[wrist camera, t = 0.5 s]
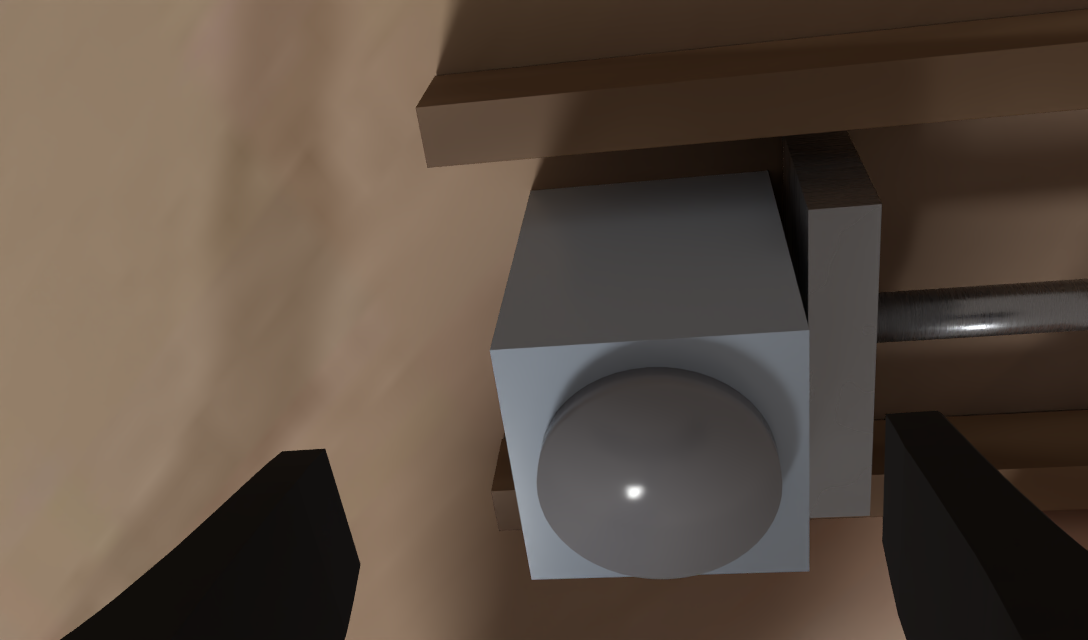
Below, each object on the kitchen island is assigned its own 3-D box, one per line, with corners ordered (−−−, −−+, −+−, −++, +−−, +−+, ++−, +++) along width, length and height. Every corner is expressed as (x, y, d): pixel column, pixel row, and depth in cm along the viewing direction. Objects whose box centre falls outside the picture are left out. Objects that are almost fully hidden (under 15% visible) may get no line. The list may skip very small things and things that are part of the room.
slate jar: (771, 371, 24) (814, 596, 18) (559, 383, 24) (528, 603, 18) (767, 170, 21) (814, 351, 15) (530, 190, 22) (484, 370, 16)
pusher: (1159, 384, 23) (1249, 501, 19) (785, 404, 24) (808, 518, 21) (1220, 89, 20) (1340, 167, 16) (782, 129, 21) (807, 209, 17)
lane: (1263, 443, 23) (1369, 568, 20) (509, 477, 26) (487, 592, 22) (1390, -22, 18) (1562, 37, 15) (435, 76, 21) (392, 145, 17)
